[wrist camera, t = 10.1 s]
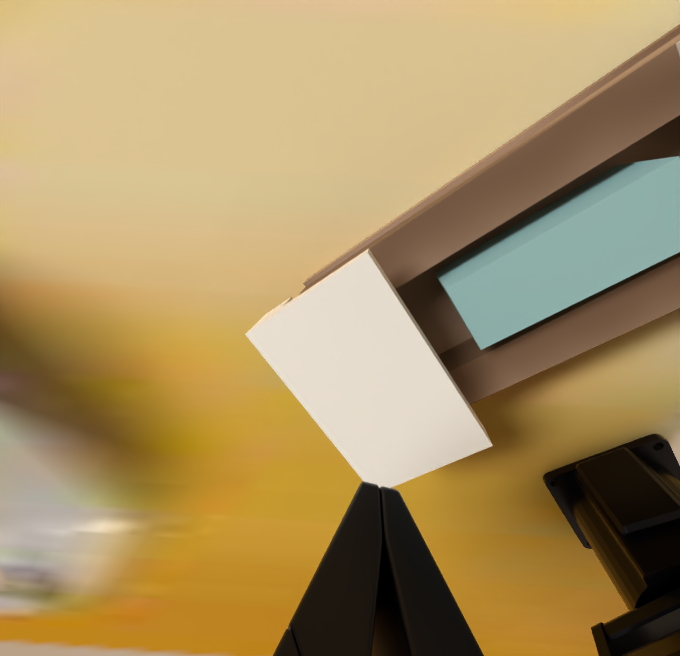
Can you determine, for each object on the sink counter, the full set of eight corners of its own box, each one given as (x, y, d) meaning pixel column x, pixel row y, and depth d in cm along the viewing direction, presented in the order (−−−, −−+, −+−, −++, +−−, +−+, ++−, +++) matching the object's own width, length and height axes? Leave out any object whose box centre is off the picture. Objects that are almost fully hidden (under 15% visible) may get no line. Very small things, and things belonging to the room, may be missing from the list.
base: (823, 196, 14) (1123, 196, 8) (398, 405, 20) (404, 488, 14) (764, -34, 12) (1117, -247, 6) (307, 278, 18) (273, 317, 12)
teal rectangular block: (464, 323, 16) (481, 349, 14) (434, 272, 16) (445, 289, 13) (642, 230, 14) (707, 238, 11) (616, 164, 13) (679, 156, 11)
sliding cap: (466, 387, 17) (492, 445, 13) (376, 430, 19) (374, 494, 15) (371, 237, 15) (367, 252, 11) (278, 300, 17) (245, 334, 13)
